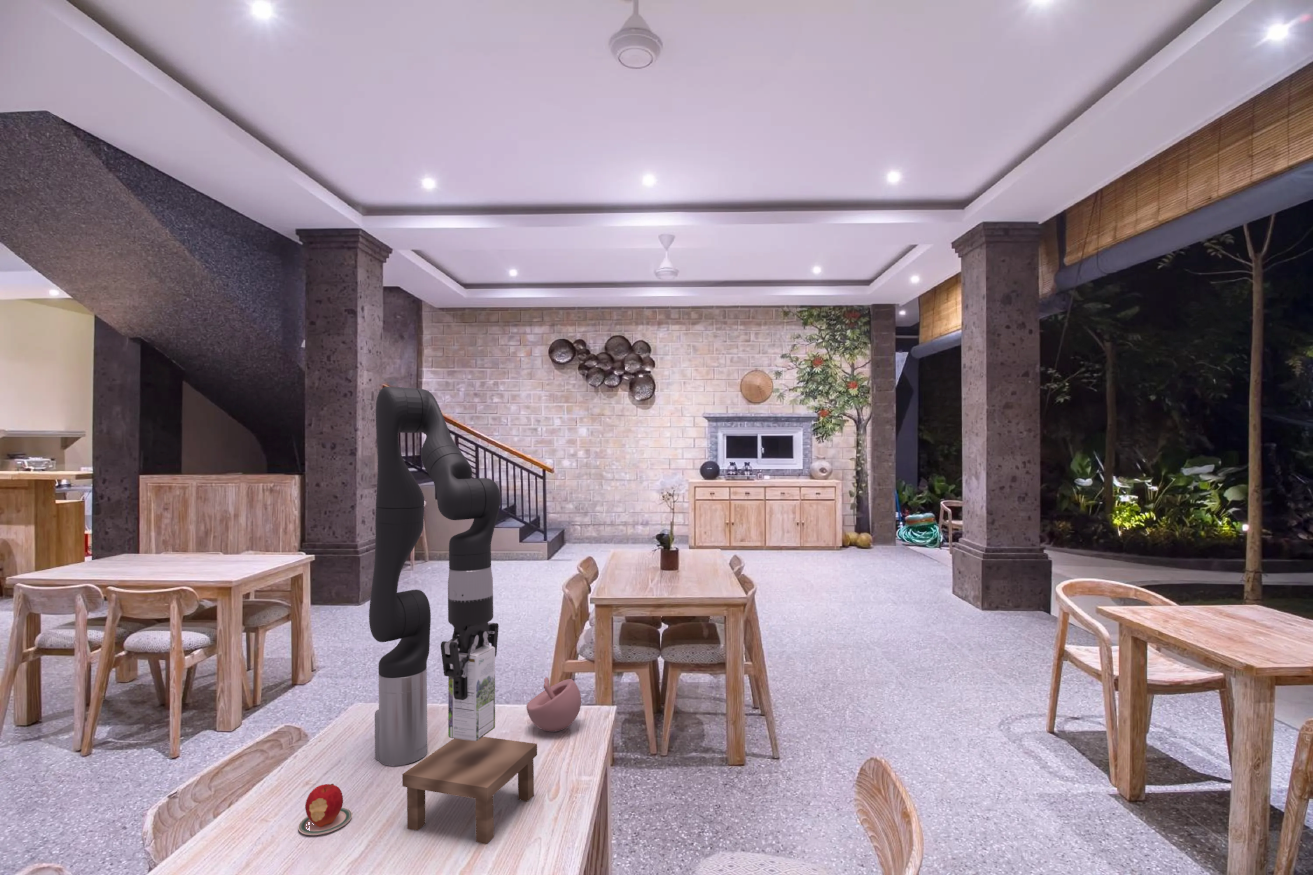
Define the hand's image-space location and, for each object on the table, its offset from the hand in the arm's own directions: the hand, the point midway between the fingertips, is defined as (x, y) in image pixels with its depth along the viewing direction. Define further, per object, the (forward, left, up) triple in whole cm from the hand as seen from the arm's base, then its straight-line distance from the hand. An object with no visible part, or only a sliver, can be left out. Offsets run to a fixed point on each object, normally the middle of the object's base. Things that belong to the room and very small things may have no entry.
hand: (471, 691), depth 111 cm
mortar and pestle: (-2, +34, -21) cm, 40 cm away
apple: (-22, -10, -21) cm, 32 cm away
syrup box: (0, 0, -7) cm, 7 cm away
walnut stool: (0, 0, -20) cm, 20 cm away
